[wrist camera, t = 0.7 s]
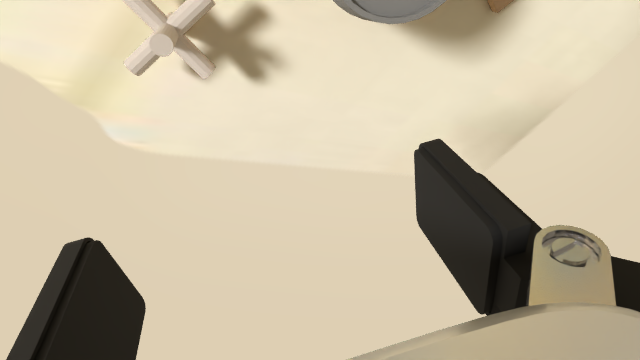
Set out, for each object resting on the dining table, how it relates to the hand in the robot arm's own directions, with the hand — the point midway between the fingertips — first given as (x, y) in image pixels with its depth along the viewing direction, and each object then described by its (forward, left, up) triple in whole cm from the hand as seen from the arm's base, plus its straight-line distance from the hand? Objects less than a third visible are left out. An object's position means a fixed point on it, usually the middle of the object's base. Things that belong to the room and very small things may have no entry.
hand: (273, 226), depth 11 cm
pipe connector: (-4, -5, -35) cm, 35 cm away
